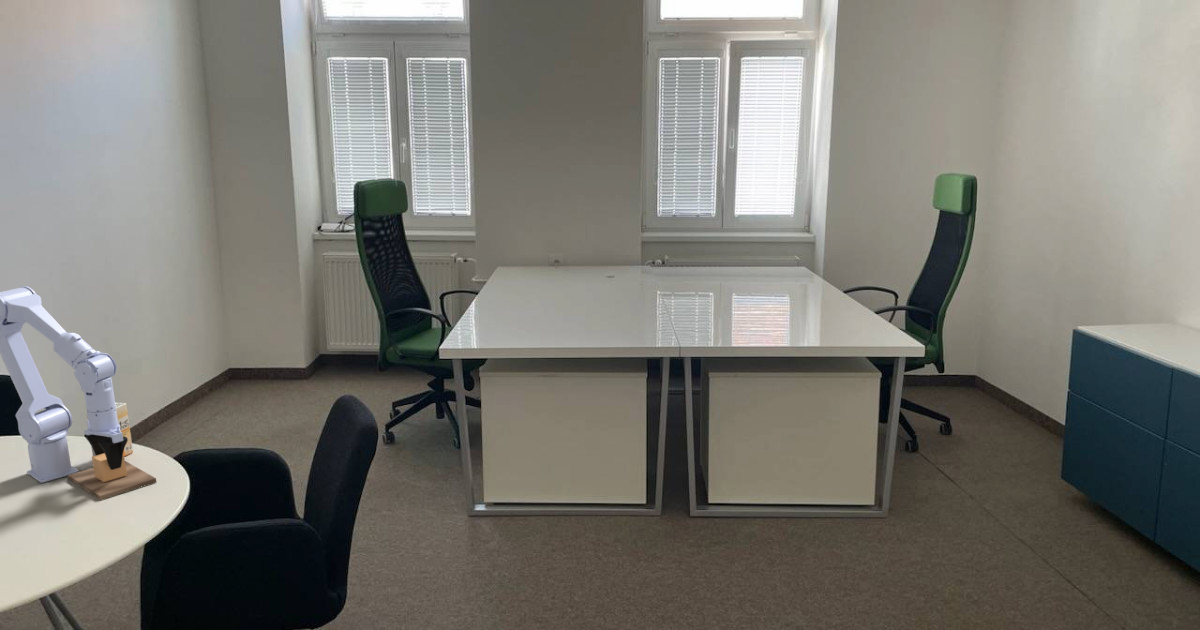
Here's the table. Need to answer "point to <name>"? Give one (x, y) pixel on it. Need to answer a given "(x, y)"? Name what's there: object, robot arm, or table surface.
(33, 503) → the table surface
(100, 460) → the orange cube
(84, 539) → the table surface
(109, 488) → the walnut board
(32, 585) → the table surface
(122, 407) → the supplement box
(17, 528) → the table surface
